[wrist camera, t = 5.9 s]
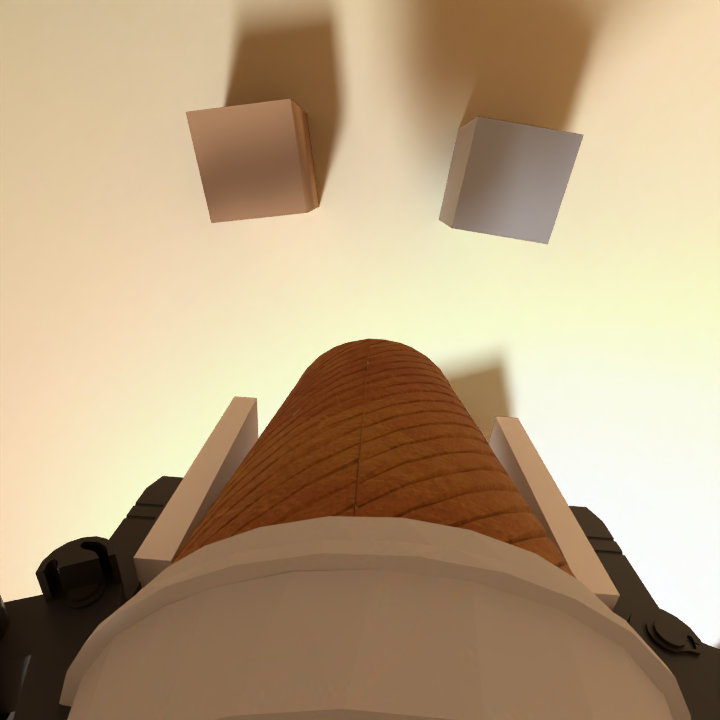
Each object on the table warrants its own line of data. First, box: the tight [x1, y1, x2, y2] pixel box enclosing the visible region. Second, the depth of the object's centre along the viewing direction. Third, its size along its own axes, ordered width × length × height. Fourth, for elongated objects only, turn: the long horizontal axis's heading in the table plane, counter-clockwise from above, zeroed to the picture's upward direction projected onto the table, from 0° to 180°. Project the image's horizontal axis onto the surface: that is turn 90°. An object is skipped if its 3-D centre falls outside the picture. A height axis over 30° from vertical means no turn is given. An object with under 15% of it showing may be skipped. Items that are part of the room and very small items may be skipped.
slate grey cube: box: [439, 116, 583, 244], centre depth 23 cm, size 5×5×5 cm
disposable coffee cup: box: [59, 339, 691, 720], centre depth 11 cm, size 10×10×12 cm
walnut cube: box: [186, 99, 319, 223], centre depth 23 cm, size 5×5×5 cm
